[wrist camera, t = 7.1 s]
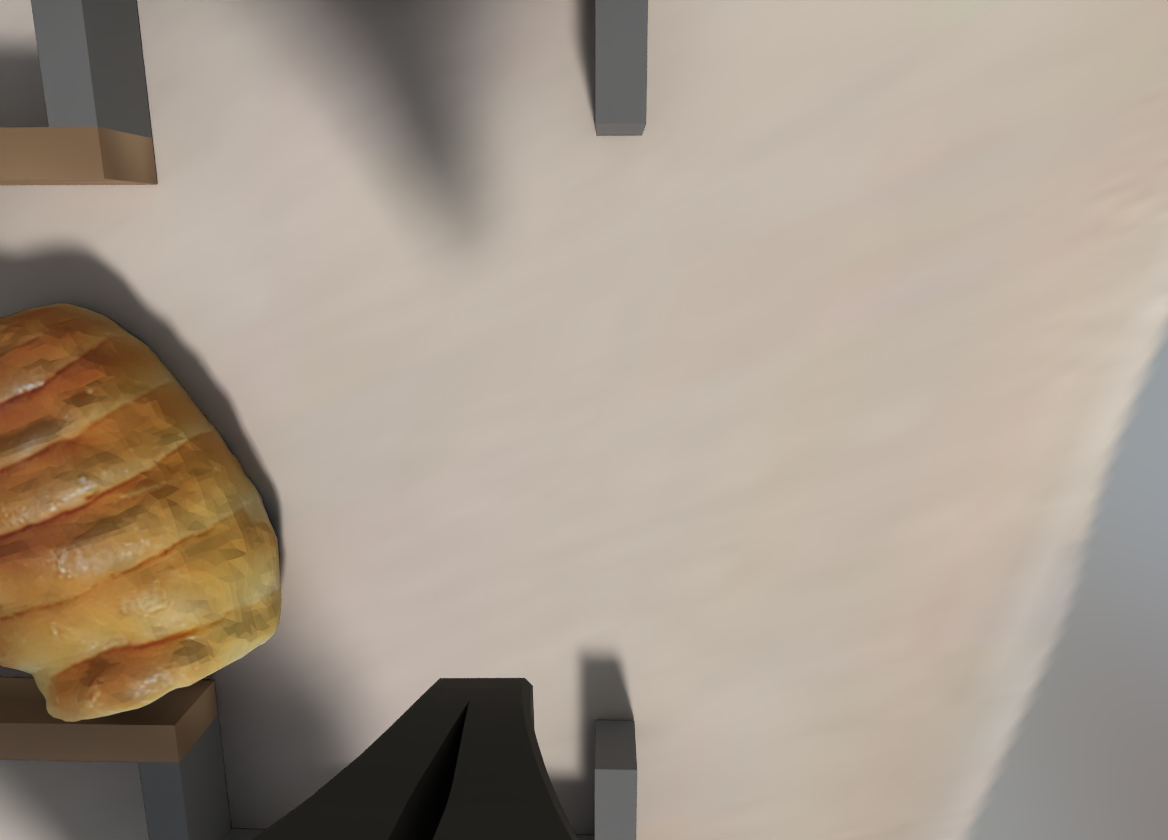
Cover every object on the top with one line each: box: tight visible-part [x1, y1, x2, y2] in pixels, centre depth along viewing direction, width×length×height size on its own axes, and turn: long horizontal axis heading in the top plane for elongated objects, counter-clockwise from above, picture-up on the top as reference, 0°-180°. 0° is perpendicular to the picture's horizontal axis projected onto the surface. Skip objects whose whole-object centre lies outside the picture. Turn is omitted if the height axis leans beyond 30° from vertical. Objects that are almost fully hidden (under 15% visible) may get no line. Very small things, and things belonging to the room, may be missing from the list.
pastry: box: [0, 303, 281, 722], centre depth 19 cm, size 9×7×4 cm
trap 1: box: [31, 0, 648, 138], centre depth 17 cm, size 4×12×2 cm, turn 90°
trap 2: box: [138, 715, 637, 840], centre depth 21 cm, size 4×12×2 cm, turn 90°
